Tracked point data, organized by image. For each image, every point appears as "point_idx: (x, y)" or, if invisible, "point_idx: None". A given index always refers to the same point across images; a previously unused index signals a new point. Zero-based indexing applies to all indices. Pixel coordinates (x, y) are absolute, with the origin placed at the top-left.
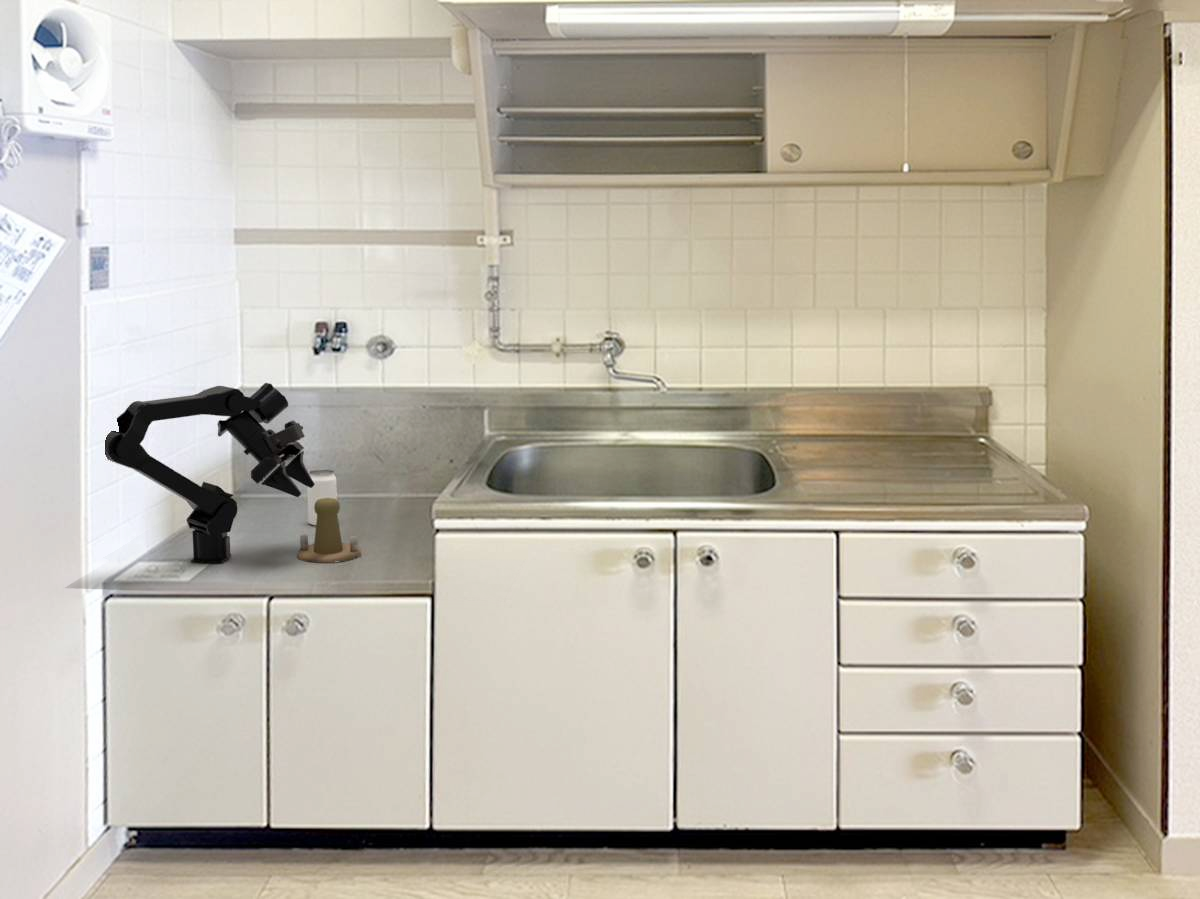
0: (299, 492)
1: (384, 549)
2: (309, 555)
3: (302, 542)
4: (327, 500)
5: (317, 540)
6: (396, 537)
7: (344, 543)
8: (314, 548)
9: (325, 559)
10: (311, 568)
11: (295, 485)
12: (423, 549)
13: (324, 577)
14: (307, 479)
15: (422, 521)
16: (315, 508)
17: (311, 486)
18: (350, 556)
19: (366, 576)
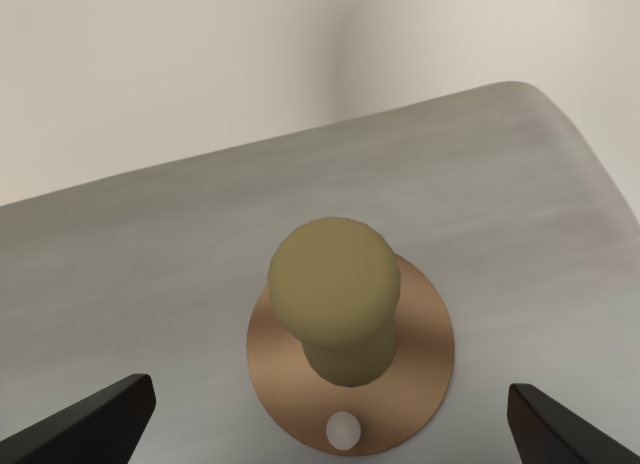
0: (544, 394)
1: (274, 210)
2: (427, 382)
3: (360, 432)
4: (361, 250)
5: (386, 354)
6: (157, 215)
7: (258, 308)
8: (374, 376)
9: (448, 317)
10: (524, 347)
11: (578, 445)
12: (272, 140)
13: (609, 276)
14: (101, 436)
15: (16, 202)
16: (379, 330)
17: (151, 398)
18: (395, 255)
19: (544, 180)
